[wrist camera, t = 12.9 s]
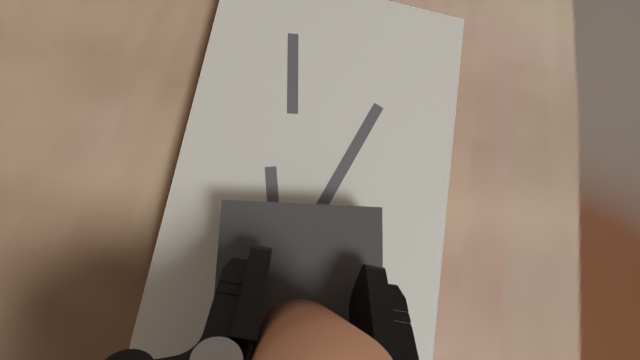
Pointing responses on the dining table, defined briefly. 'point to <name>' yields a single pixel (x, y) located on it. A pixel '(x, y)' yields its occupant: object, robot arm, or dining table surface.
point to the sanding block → (306, 274)
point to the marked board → (311, 145)
